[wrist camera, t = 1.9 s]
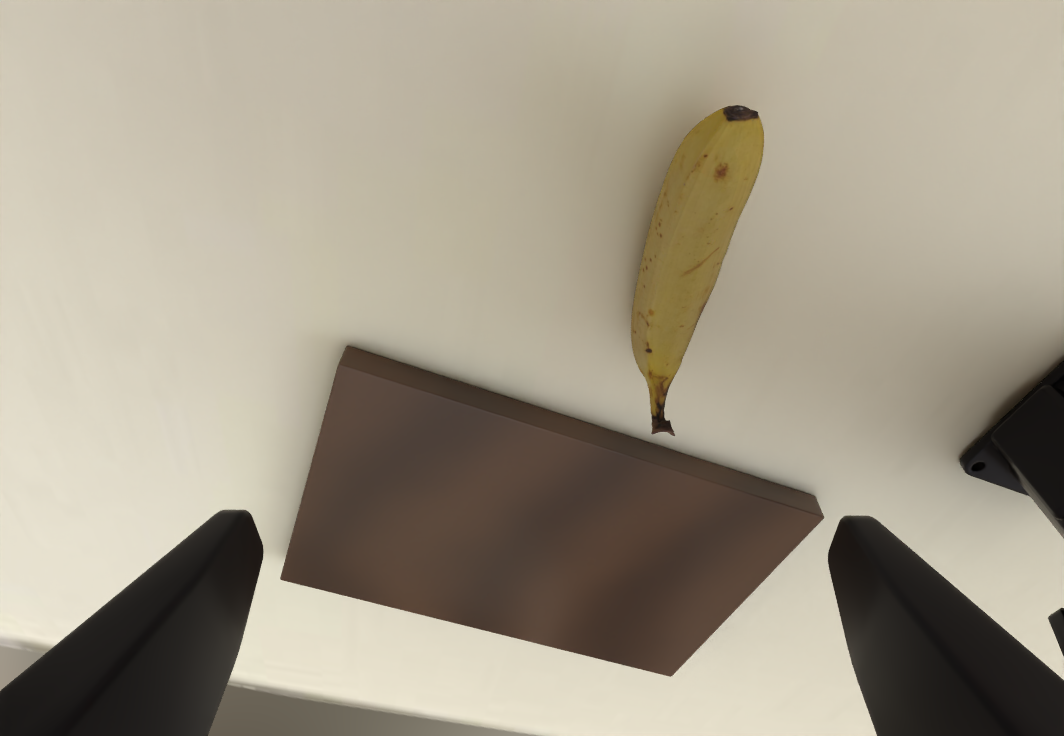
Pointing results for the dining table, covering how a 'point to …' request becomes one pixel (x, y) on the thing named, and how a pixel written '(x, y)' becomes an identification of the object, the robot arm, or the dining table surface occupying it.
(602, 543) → the walnut board
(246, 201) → the dining table surface
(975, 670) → the robot arm
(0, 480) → the dining table surface
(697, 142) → the banana
